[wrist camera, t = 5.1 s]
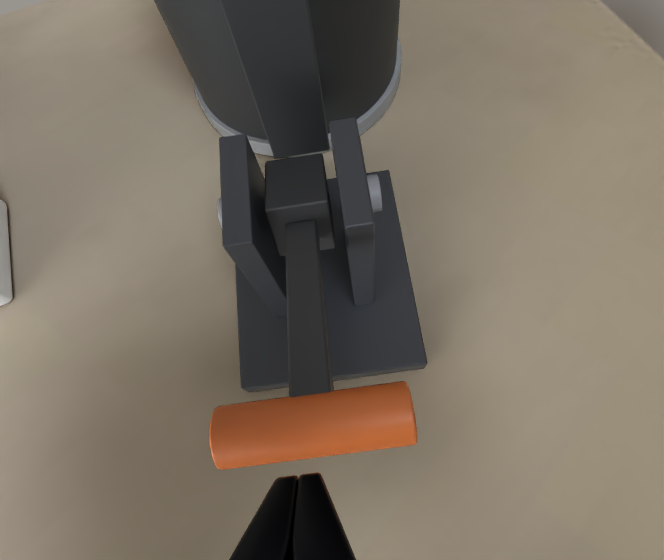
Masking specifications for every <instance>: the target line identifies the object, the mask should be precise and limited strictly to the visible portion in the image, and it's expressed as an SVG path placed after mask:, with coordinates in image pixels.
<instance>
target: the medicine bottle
mask: <svg viewBox="0 0 664 560" xmlns="http://www.w3.org/2000/svg"><path fill="white" fill-rule="evenodd" d="M12 297H13V296H12V280H11V264H10V248H9V233H8V217H7V205H6V203H5V202H4V201H2V200H1V199H0V306H2V305H5V304H8V303H9V302H10V301H11V300H12Z"/></svg>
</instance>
